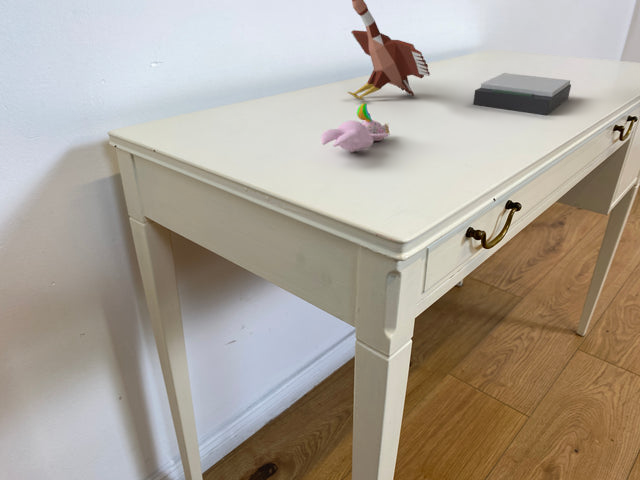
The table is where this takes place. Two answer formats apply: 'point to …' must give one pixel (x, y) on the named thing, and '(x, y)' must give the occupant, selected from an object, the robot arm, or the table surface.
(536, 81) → the scale
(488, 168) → the table surface
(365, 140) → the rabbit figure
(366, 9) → the decorative bird
